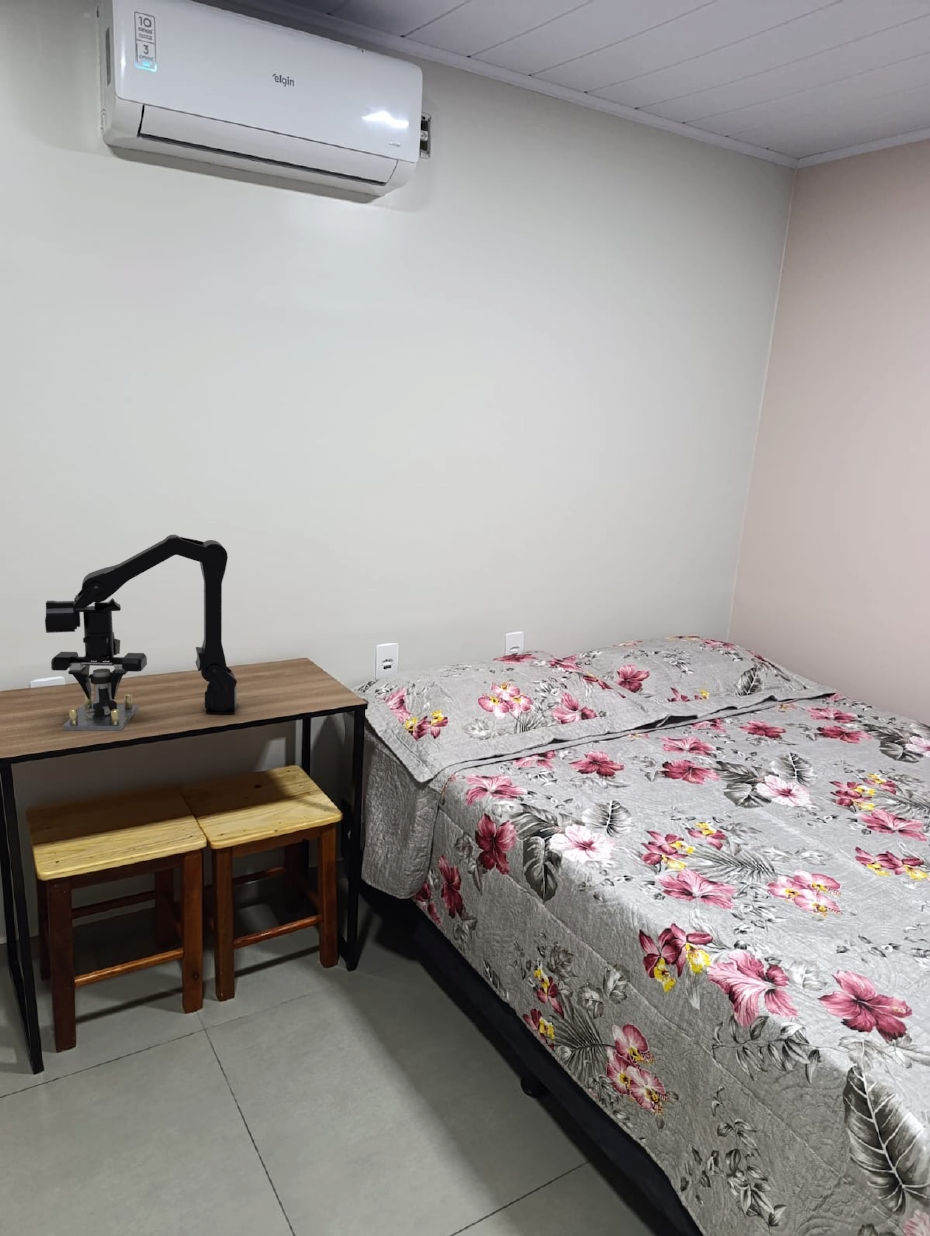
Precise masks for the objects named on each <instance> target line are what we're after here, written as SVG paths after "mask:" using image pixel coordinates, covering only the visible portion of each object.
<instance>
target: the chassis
mask: <svg viewBox="0 0 930 1236" xmlns="http://www.w3.org/2000/svg"><path fill="white" fill-rule="evenodd" d="M132 698H133V695H132V694H131V693H125V694H123V699H124V700H123V704H117V709H112V710H111V714H108V715H102V716H95V715H88V716H87V715H86V714H91V713H93V712H92V711H88V712H86V710H90V709H92V704H93V703H94V700H93V693H91V699H88V698H87V696H86V694H85V693H84V704H83V705H81V706H80V708H79V709H77V708H70V709H68V712H69V715H68V716H69V719H68V720H67V721H66V722H65V723H64V724H63V725H62V730H63V731H118V732H119V731H122V730H123V729H124V728H125V727H126V725H128V723H129V721H130V720H131V719H132V718H133V716H134V715H135V713H137V711H138V709H139V705H138V704H133V703H132V701H133V699H132Z"/></svg>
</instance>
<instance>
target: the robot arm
mask: <svg viewBox="0 0 930 1236" xmlns="http://www.w3.org/2000/svg"><path fill="white" fill-rule="evenodd" d="M173 556H180V557H183V558H187V559H189V560H192V561H195V562H199V566H200V571H201V574H202V578H203V641H202V644H201V645H202V646H196V647H195V651H196V660H195V665H196V668H197V671H198V672H200V674H201V676H202V678H203V680H205V681H206V682H208V684H207V686H206V690H204V709H205V714H207V715H208V714H209V715H210V714H211V715H212V714H213V715H234V714H236V710H237V709H238V706H239V703H238V702H237V683H238V681H237V679H236V677H235V673H234V672H233V670H232V669H231V668H230V667H229V666H227V662H226V656H225V653H224V652H225V651H224V648H223V643H222V631H223V629H222V620H223V619H222V612H223V611H222V600H223V598H222V596H223V595H222V591H223V589H222V587H223V585H222V584H223V580H224V576H225V574H226V573H225V572H226V569H227V565H228V564H227V563H228V557H229V556H228V552H227V550H226V548H225V547H224V546H223V545H222V544H221V542H219V541H217V540H214V539H208V540H205V541H202V540H197V539H193V538H188V537H183V536H180V535H178V534H169V535H167V536H166V537H165V538H164V539H162V540H160V541H158V542H157V543H155V544H153V545H151V546H149V547H147V548H145V549H143V550H142V551H140V552H138V553H136V554H135V555H133V556H131V557H129V558H128V559H125V560H124V561H122V562H120V563H118V564H115V565H110V566H108V567H107V566H105V567H103V568H100V569H97V570H95V571H92V572H88V574H86V575H85V576H84V577H83V580H82V582H81V583H82V584H81V589H80V591H79V592H78V593H77V595H74V596H75V597H74V598H73V600H62V601H59V600H58V601H57V600H47V601H46V602H45V618H44V623H45V624H44V625H45V633H46V634H50V633H53V634H54V633H74V632H76V630H78V628H81V613H82V617H83V631H84V632H83V633H84V636H83V638H82V640H83V641H82V643H83V644H84V651H85V652H84V656H79V653H78V652H77V651H60V652H59V653H57V654H56V655H55V656H53V658H52V659H51V660H50V665H51V667H50V668H51V671H61V672H63V671H65V672H66V671H67V670H68V669H69V670H68V672H67V674H68V675H72V676H73V677H74V679H75V680H76V681H77V683H78V684H79V685H80V688H81V689H82V691H83V693H84V695H85V694H86V696H87V698H88V699H91V694H92V688H91V687H92V686H91V684H92V683H91V682H90V678H89V675H90V668H91V666H97V667H99V666H101V667H102V666H106V667H107V666H109V667H110V666H111V667H113V668H114V669H113V670H112V671H110V672H111V696H112V699H113V700H115V699H116V696H117V694H118V690H119V687H120V684H121V682H122V681H121V680H122V679H123V676H125V675H127V674H128V672H133V673H136V672H138V673H139V672H142V671H143V670H144V668H145V667H146V666H147V665H148V657H147V655H146V654H145V653H144V652H127V653H126V655H124V656H117V655H119V654H120V651H121V639H118V638H115V632H114V630H113V628H114V627H113V612H120V611H121V610H122V607H121V604H120V603H118V602H117V601H116V600H115V599H114V598H113V597H112V598H111V599H110V600H108V599H109V598H110V597H111V596H113V595H114V594H115V593H117V591H118V590H119V589H120V588H122V587H123V586H124V585H125V584H126V583H128V581H130V580H132V579H134V578H135V577H137V576H139V575H141V574H143V573H145V572H147V571H148V570H150V569H151V568H154V567H156V566H158V565H159V564H161V563H163V562H165V561H166V560H169V559H170V558H173ZM106 600H108V601H106ZM93 603H94V604H93ZM92 604H93V605H92Z"/></svg>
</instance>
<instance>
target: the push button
mask: <svg viewBox="0 0 930 1236" xmlns="http://www.w3.org/2000/svg"><path fill="white" fill-rule="evenodd" d="M111 672H112V671H111V669H110V668H96V669H94V670H92V673H89V678H90V684H92V685H93V691H94V700H93V704H92V709H90V710H86V712H88V711H92V712H93V713H91V714H86V715H87V716H88V715H95V716H102V715H108V714H111V710H112V709H117V705H118V704H117V703H118V702H117V701H115V699H112V696H111Z"/></svg>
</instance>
